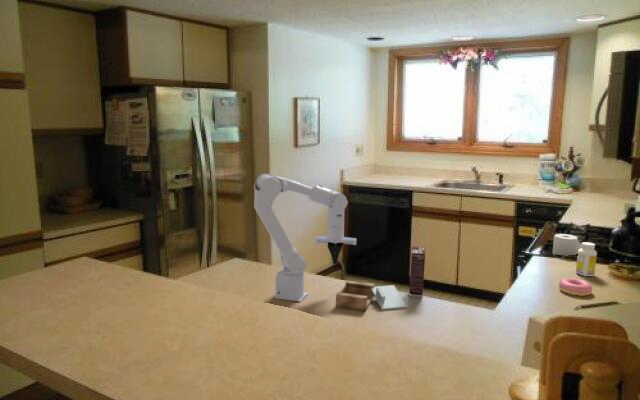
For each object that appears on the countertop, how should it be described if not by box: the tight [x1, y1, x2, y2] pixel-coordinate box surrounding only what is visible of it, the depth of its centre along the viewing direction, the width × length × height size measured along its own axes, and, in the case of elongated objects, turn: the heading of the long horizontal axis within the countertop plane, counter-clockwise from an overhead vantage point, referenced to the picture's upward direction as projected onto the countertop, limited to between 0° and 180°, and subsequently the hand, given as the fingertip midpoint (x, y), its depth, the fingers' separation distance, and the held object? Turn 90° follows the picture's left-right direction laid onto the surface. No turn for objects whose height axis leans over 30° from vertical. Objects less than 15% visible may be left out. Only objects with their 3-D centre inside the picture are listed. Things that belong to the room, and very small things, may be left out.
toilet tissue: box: [552, 233, 582, 256], centre depth 220 cm, size 9×13×9 cm
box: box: [335, 280, 376, 313], centre depth 164 cm, size 10×14×4 cm
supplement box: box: [408, 246, 426, 298], centre depth 171 cm, size 9×5×16 cm, turn 168°
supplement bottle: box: [575, 241, 598, 277], centre depth 193 cm, size 7×7×13 cm
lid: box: [371, 284, 407, 311], centre depth 163 cm, size 9×11×3 cm
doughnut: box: [558, 277, 594, 297], centre depth 176 cm, size 11×11×4 cm
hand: (335, 263), depth 172 cm, fingers closed
